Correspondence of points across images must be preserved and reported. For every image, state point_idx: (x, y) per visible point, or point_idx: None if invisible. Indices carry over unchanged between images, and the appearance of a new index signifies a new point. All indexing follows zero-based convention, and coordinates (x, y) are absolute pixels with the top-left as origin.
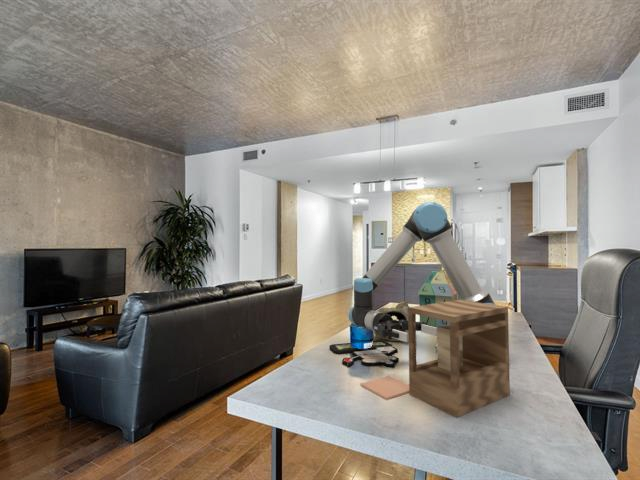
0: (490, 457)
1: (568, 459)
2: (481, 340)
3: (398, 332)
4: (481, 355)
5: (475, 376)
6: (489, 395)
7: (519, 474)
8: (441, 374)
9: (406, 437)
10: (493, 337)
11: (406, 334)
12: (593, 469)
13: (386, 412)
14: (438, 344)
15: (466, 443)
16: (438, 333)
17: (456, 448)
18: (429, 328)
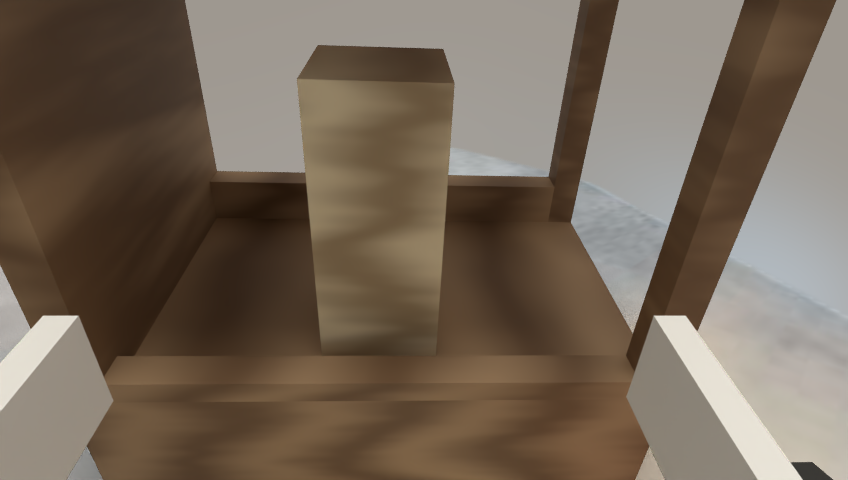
0: (592, 205)
1: (456, 165)
2: (149, 145)
3: (775, 467)
4: (169, 234)
5: None
6: None
7: None
8: (508, 291)
9: (771, 298)
10: (172, 82)
11: (684, 326)
12: None
13: (820, 422)
14: (444, 218)
15: (610, 235)
16: (449, 134)
17: (647, 236)
18: (3, 450)
